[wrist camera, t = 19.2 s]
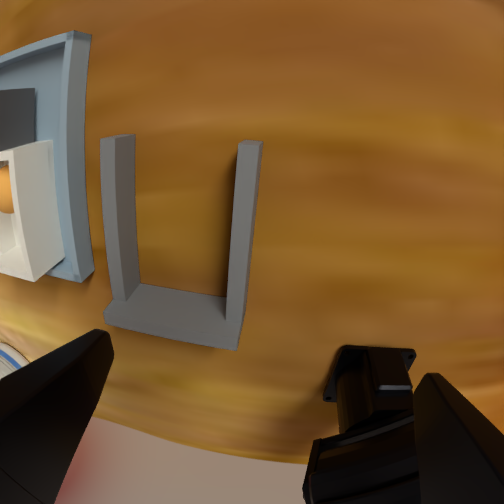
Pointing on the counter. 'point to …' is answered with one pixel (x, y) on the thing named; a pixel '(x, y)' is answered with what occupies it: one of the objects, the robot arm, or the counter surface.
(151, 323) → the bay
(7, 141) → the white open-front box
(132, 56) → the counter surface
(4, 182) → the ball
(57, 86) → the tray
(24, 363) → the supplement tub
